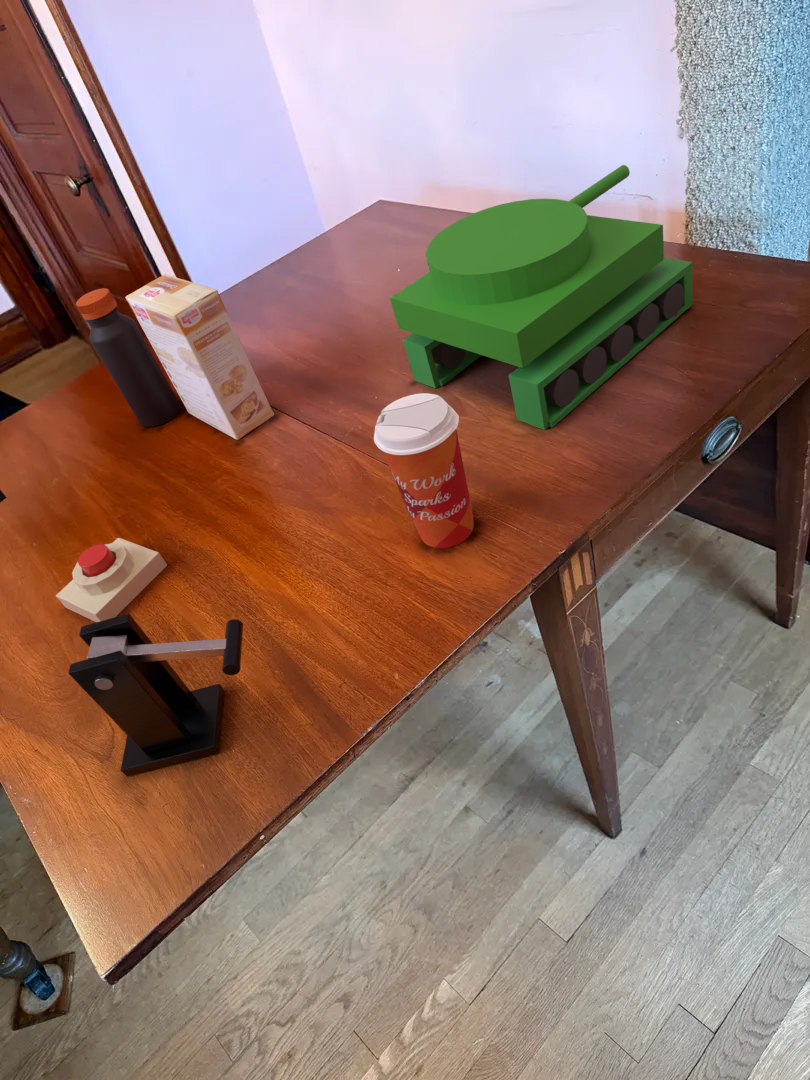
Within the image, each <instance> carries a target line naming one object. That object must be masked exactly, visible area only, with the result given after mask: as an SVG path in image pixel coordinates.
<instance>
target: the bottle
mask: <svg viewBox="0 0 810 1080" xmlns="http://www.w3.org/2000/svg"><path fill="white" fill-rule="evenodd" d="M75 306H76V308H77V309H78V311H79V313H80V315H81V316H82V318H83V319H84V320H85V322H86V323H88V324H90V326H91V328H90V331H89V336H88V339H89V342H90V344H91V345H92V347H93V349H94V350H95V352H96V354H97V355H98V358H99V359H100V360H101V362H102V363H103V366H104V367H105V369H106V370H107V372H108V373H109V375H110V377H111V378H112V380H113V382H114V383H115V385H116V386H117V388H118V390H119V391H120V393H121V395H122V396H123V397H124V399H125V401H126V403H127V404H128V406H129V408H130V409H131V411H132V413H133V414H134V415H135V418H136V419H137V421H138V422H139V423H140V424H141V425H142V426H143V427H146V428H154V427H159V426H161V425H164V424H165V423H168V422H169V421H171V420H173V418H175V417H176V416H177V415H178V414H179V412H180V410H181V403H180V400H179V399H178V397H177V395H176V393H175V392H174V389H173V388H172V386H171V383H170V382H169V380H168V378H167V377H166V375H165V374H164V372H163V370H162V368H161V366H160V364H159V362H158V361H157V359H156V357H155V356H154V354H153V352H152V350H151V348H150V346H149V345H148V342H147V341H146V339H145V337H144V336H143V334H142V333H141V331H140V329H139V327H138V325H137V323H136V320H134V319H133V318H132V317H131V316H128V315H126V314H123V313H120V311H119V310H118V309H119V305H118V304H117V301H116V299H115V298H114V296H113V295H112V293H111V291H110V289H109V288H106V287H102V288H98V289H94V290H92V291H89V292H87V293H85V294H84V295H82V296H81V297H79V298H78V299H77V300H76V302H75Z"/></svg>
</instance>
